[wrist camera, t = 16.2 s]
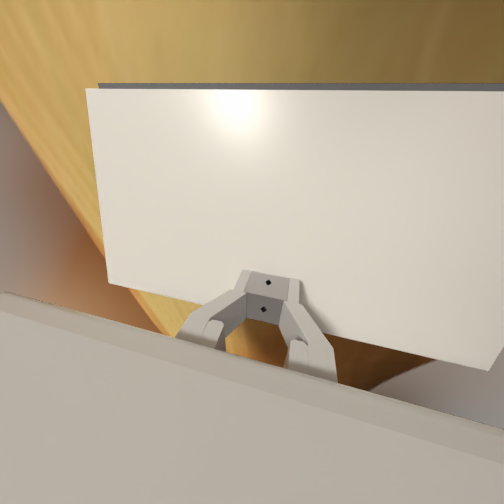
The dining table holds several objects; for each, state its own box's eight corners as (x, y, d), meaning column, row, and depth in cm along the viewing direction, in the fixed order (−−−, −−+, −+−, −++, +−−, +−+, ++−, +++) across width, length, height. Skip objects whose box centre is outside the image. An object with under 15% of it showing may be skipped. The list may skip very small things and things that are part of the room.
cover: (100, 97, 10) (85, 88, 9) (616, 106, 6) (660, 92, 6) (119, 278, 13) (108, 282, 12) (472, 358, 9) (488, 371, 9)
